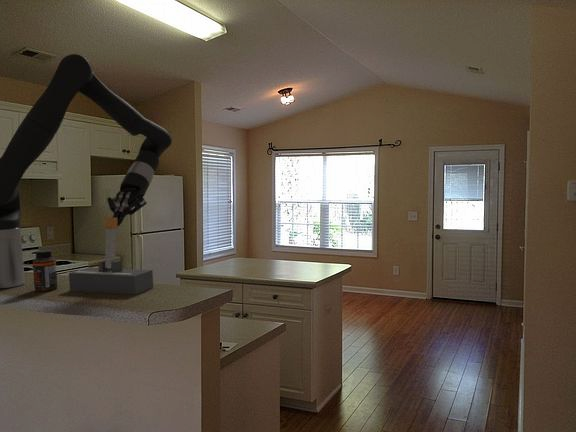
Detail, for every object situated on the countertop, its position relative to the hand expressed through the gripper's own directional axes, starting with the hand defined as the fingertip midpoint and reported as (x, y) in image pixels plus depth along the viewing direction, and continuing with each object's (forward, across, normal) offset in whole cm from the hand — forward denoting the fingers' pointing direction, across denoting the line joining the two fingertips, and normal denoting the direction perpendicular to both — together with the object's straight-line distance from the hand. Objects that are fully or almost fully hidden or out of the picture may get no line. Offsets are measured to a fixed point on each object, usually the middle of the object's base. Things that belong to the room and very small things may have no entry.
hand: (114, 224), depth 138 cm
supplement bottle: (+18, -19, +8) cm, 27 cm away
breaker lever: (+10, 0, +6) cm, 12 cm away
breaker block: (+15, 0, +10) cm, 18 cm away
